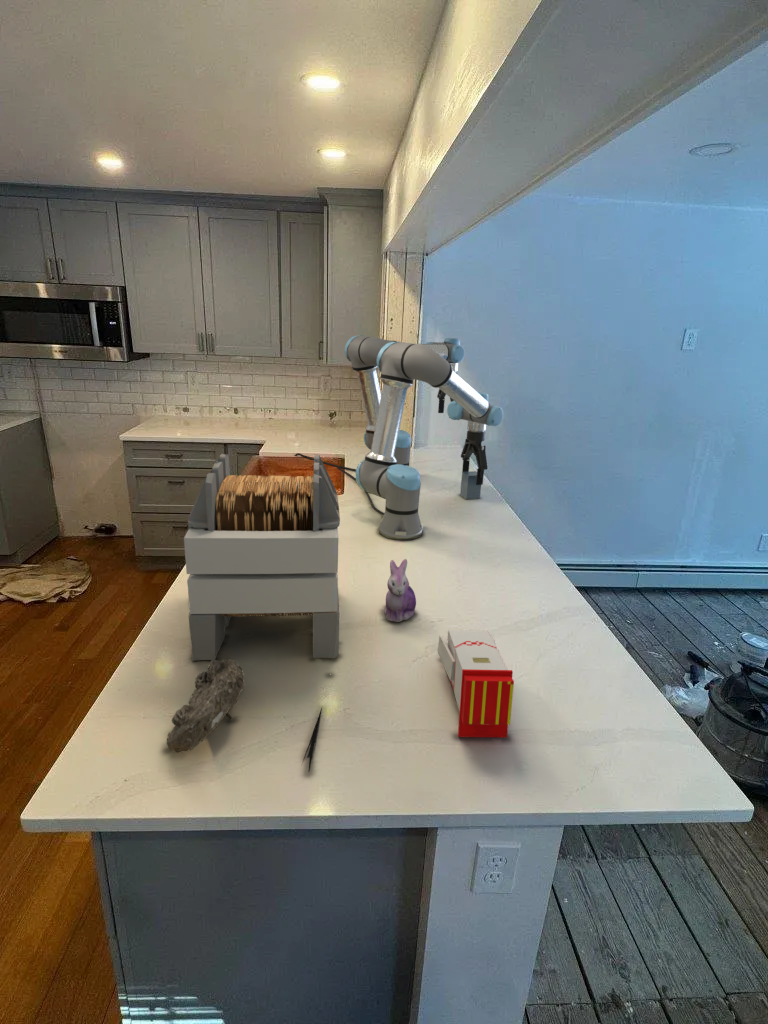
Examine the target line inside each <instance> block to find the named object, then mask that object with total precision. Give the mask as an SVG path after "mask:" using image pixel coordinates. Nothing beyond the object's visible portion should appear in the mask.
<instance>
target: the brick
mask: <svg viewBox="0 0 768 1024" xmlns="http://www.w3.org/2000/svg"><path fill="white" fill-rule="evenodd" d="M476 479H477V470H473V471H471V470H470V471H469V472H462V471H461V480H460V491H459V495H460V496H461V497H462V498H463V499H465V500H476V499H477V500H479V499H481V492H482V485H476Z"/></svg>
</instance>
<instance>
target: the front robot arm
mask: <svg viewBox="0 0 768 1024" xmlns="http://www.w3.org/2000/svg"><path fill="white" fill-rule="evenodd" d="M421 344H422V343H412V342H405V341H397V342H390V343H387V344H386V345H385V346H383V347H382V348H381V350H380V351H379V353H378V356H377V366H378V367H377V369H378V371H379V372H380V377H379V379H380V382H381V383H382V390H381V399H380V405H379V410H378V415H377V420H376V426H375V431H374V436H373V441H372V447H371V450H370V451H369V452H368V453H366V454H365V456H364V459H363V460H361V461H360V463H359V464H358V465H357V467H356V468H355V469H356V471H355V476H353V475H352V474H351V473H349V472H347V471H346V470H345V469H342V468H339V467H336V469H337V470H339V471H340V472H342V473H344V474H346V475H347V476H348V477H350V478H351V479H352V480H354V481H355V482H356V483H357V485H358V487H359V488H360V489H361V490H362V491H364V493H365V495H366V497H367V499H368V501H369V504H370V505H371V507H372V509H373V510H374V511H375V512H376V513H378V514H380V515H382V519H381V522H379V525H378V533H379V534H380V535H381V536H382V537H385V538H387V539H389V540H395V541H410V540H415V539H418V538H420V537H421V536H422V535H423V525H422V524H421V518H420V515H419V507H420V506H419V505H420V496H421V495H420V494H421V482H422V481H421V473H420V471H419V470H417V468H415V467H413V466H411V465H409V466H407V465H406V466H404V465H401V464H397V460H396V459H395V457H394V453H395V448H396V443H397V438H398V433H399V430H400V428H401V422H402V418H403V414H404V413H403V412H404V409H405V408H404V407H405V402H406V397H407V393H408V389H410V388H411V387H412V386H413V384H414V381H420V382H423V383H426V384H428V385H430V386H431V387H432V388H434V389H438V390H439V389H441V390H442V391H443V392H444V393H445V394H446V396H448V397H449V399H450V398H452V399H453V400H454V401H452V402H451V401H450V402H449V404H447V408H446V413H447V416H448V418H449V417H450V418H449V419H451V420H452V421H460V420H463V421H467V428H466V430H467V431H466V438H465V441H464V445H463V448H462V452H461V454H460V459H462V470H461V473H462V472H470V462H471V461H470V459H471V457H472V455H474V456H475V460H476V465H477V468H476V472H477V479H476V485H481V486H482V485H484V475H485V470H488V463H487V461H488V460H487V452H486V445H484V444H482V442H484V441H486V430H487V426H491V427H497V426H499V425H500V424H501V423H502V421H503V418H504V410H503V408H502V407H500V406H497V405H493V404H491V403H490V402H489V397H490V396H489V394H488V393H487V392H483V391H482V392H481V391H477V390H476V389H474V388H473V387H472V386H471V385H470V384H469V383H467V382H466V381H465V380H464V379H463V378H462V377H461V376H460V375H458V373H457V374H456V373H455V372H454V371H453V369H452V366H451V364H450V363H449V362H448V361H446V360H445V359H444V358H443V357H442V356H440V355H439V354H438V353H437V352H435V351H434V350H432V349H431V348H429V347H427V346H425V345H421ZM370 495H374V496H376V497H379V498H381V499H383V500H385V504H384V505H385V507H384V508H385V509H384V511H382V510H380V509H378V508H377V507H376V506H375V505H374V502H373V500H372V498H371V496H370Z"/></svg>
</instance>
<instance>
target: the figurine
mask: <svg viewBox="0 0 768 1024" xmlns="http://www.w3.org/2000/svg"><path fill="white" fill-rule="evenodd" d="M407 567H408V559H406V558H404V559H403V560H402V561H401V563H400V565H399V566H398V565H397V563H396V562H395V561H394V560H393V559H391V560H390V561H389V570H390V576H389V578H388V579H387V589H388V591H387V592H386V594H385V595H386V596H385V607H384V615H385V616H386V620H387V621H391V622H395V623H400V622H402V621H406V620H409V619H410V618H411V617H413V616H414V615H415V610H416V606H417V597H416V593H415V591H414V590H413V587H411V586H410V582H409V579H408V577H407V574H406V571H407Z"/></svg>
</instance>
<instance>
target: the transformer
mask: <svg viewBox="0 0 768 1024" xmlns="http://www.w3.org/2000/svg"><path fill="white" fill-rule="evenodd" d="M313 458H314V460H313V473H312V474H313V475H307V476H303V475H296V476H294V475H293V476H291V475H268V476H267V475H265V476H263V475H251V474H250V475H236V474H233V475H232V474H231V469H230V457H229V454H228V453H226V454H225V453H220V455H219V457H218V459H217V461H214V464H213V466H212V468H211V471H210V472H208V473H207V474H206V476H205V479H204V481H203V483H202V485H201V488H200V490H199V492H198V495H197V497H196V500H195V502H194V503H193V506H192V508H191V510H190V513H189V516H188V518H187V527H188V530H187V532H186V534H185V535H184V537H183V545H184V556H185V570H186V575H188V578H187V580H186V581H187V582H186V583H187V591H188V592H187V593H188V594H187V595H188V605H189V606H188V608H189V612H188V622H189V623H188V625H189V637H190V644H191V654H192V656H191V660H192V661H195V662H199V661H212V660H216V658H217V655H218V653H219V651H220V649H221V647H222V644H223V643H224V640H225V638H226V627H229V623H230V620H231V617H250V616H251V617H280V616H282V617H284V616H285V617H286V616H296V617H297V616H312V658H313V659H318V658H319V659H320V658H321V659H324V658H327V659H336V658H337V657H339V656H340V599H339V577H338V573H339V572H338V571H339V530H338V529H339V527H340V525H341V524H340V522H341V516H340V515H341V514H340V506H339V505H340V504H339V497H338V491H337V489H336V487H335V485H334V483H333V481H332V479H331V477H330V474H329V472H328V470H327V468H326V466H325V464H323V462H322V461H323V459H322V458H321V456H320V454H313Z"/></svg>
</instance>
